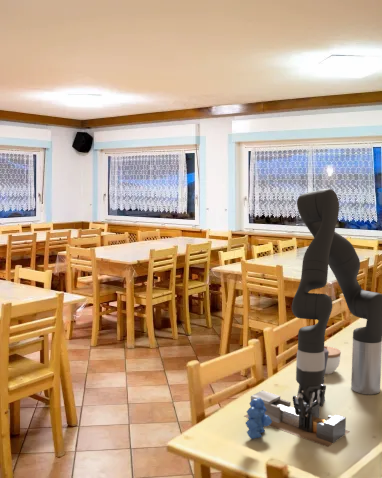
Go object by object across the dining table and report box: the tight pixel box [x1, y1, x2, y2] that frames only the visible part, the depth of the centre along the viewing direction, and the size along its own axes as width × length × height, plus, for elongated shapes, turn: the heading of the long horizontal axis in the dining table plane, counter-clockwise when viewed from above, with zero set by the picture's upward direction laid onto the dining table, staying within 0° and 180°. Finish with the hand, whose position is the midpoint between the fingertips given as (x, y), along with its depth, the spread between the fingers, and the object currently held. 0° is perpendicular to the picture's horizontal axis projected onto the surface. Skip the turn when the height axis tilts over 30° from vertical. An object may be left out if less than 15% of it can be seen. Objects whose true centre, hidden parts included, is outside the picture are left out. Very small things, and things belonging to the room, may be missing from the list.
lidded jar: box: [324, 345, 341, 375], centre depth 200 cm, size 11×11×9 cm
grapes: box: [245, 398, 272, 440], centre depth 145 cm, size 12×7×12 cm, turn 156°
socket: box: [316, 413, 347, 444], centre depth 145 cm, size 7×5×5 cm
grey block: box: [271, 402, 327, 433], centre depth 152 cm, size 4×18×7 cm, turn 47°
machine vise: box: [243, 389, 350, 448], centre depth 153 cm, size 12×27×7 cm, turn 47°
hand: (308, 425), depth 150 cm, fingers closed on grey block, 4 cm apart
